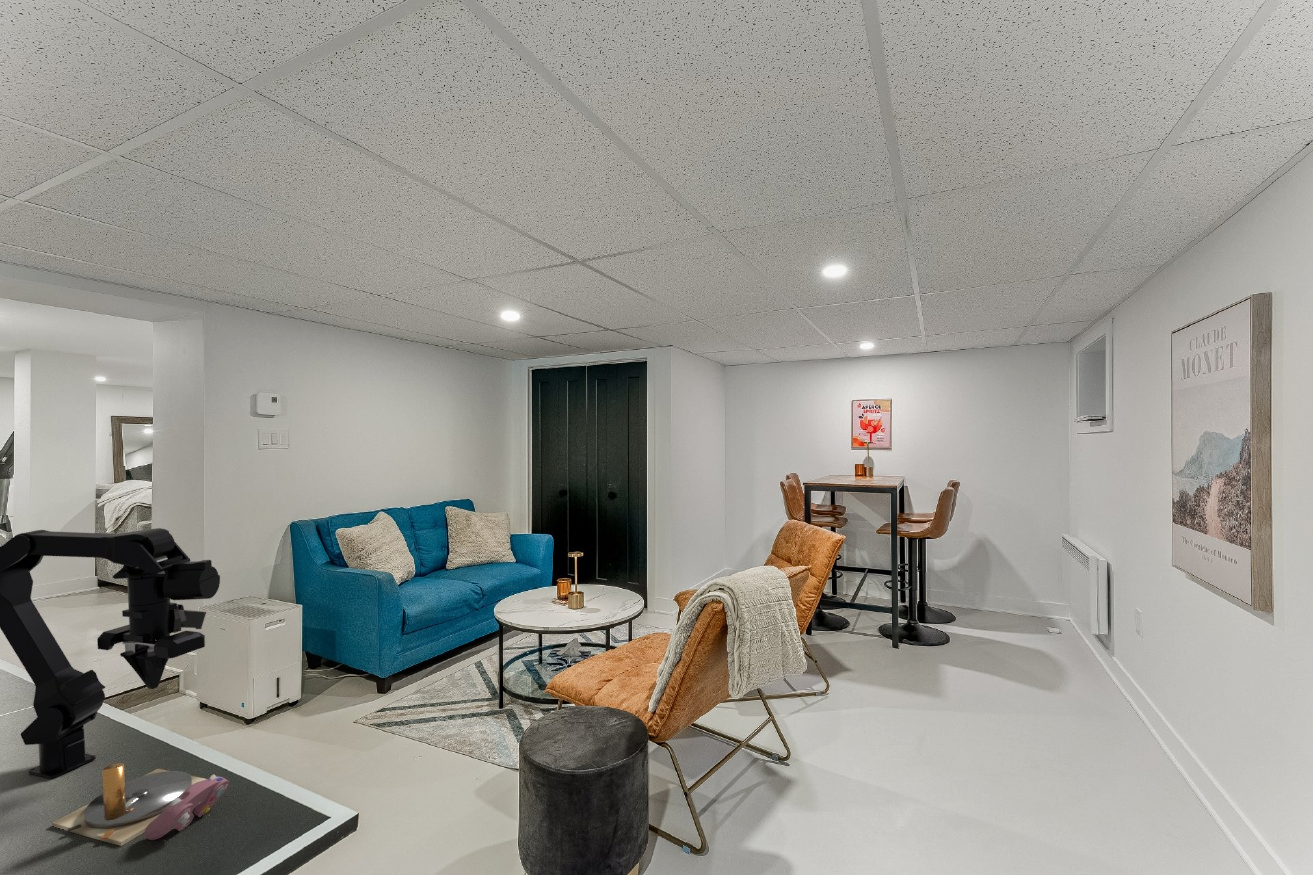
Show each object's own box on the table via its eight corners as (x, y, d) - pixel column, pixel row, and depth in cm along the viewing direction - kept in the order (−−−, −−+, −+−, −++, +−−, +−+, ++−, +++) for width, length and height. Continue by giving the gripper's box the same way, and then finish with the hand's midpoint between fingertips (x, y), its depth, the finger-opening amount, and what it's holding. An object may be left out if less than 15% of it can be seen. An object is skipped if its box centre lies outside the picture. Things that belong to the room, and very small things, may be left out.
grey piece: (68, 838, 86) (66, 782, 86) (103, 790, 98) (101, 740, 97) (180, 812, 92) (177, 759, 91) (200, 769, 103) (198, 721, 103)
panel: (46, 829, 89) (45, 824, 89) (158, 772, 104) (158, 767, 104) (119, 850, 85) (118, 844, 85) (225, 786, 99) (225, 782, 99)
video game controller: (162, 855, 86) (179, 814, 85) (138, 838, 86) (154, 797, 86) (224, 811, 96) (239, 774, 95) (201, 796, 96) (217, 759, 95)
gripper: (232, 592, 112) (235, 675, 112) (161, 585, 118) (164, 665, 118) (168, 610, 101) (172, 702, 102) (93, 602, 107) (97, 689, 107)
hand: (153, 688), depth 107 cm, fingers closed
